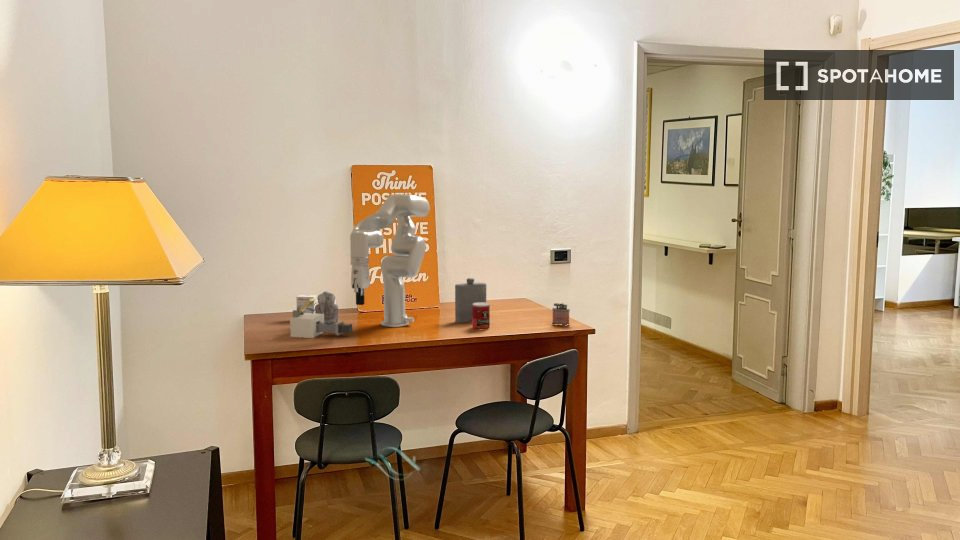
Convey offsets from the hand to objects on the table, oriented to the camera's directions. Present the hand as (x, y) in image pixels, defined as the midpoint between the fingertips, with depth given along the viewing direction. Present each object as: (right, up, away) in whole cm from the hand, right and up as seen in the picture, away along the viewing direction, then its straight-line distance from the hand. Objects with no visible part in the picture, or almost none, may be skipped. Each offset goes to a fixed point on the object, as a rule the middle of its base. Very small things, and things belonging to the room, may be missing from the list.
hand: (360, 304), depth 312 cm
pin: (-14, -13, +5) cm, 19 cm away
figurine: (-19, -11, +25) cm, 33 cm away
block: (-24, -13, +8) cm, 28 cm away
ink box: (-31, -9, +36) cm, 49 cm away
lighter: (+87, -11, +26) cm, 91 cm away
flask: (+46, -10, +35) cm, 59 cm away
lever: (-24, -2, +6) cm, 25 cm away
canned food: (+51, -12, +20) cm, 56 cm away
